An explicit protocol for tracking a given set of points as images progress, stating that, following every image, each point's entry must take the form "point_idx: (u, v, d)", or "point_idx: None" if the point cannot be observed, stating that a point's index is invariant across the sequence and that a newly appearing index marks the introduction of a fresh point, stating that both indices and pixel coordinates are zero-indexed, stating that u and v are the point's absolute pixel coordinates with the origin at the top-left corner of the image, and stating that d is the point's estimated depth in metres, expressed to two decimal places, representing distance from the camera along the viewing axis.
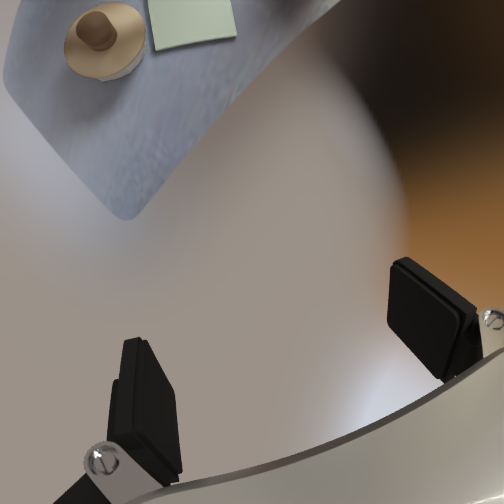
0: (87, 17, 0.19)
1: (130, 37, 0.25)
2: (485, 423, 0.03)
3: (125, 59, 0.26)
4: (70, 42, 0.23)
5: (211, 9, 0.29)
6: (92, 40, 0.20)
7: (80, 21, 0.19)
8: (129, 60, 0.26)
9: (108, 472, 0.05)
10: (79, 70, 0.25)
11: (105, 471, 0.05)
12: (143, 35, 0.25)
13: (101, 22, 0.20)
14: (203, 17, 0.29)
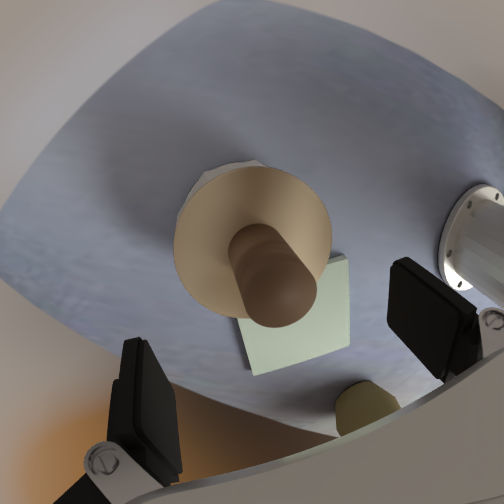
0: (305, 283, 0.13)
1: None
2: (485, 423, 0.03)
3: (206, 296, 0.18)
4: (261, 182, 0.16)
5: (293, 345, 0.28)
6: (243, 301, 0.13)
7: (300, 270, 0.13)
8: (203, 303, 0.18)
9: (108, 472, 0.05)
10: (192, 210, 0.16)
11: (105, 471, 0.05)
12: None
13: (284, 315, 0.13)
14: (281, 339, 0.27)
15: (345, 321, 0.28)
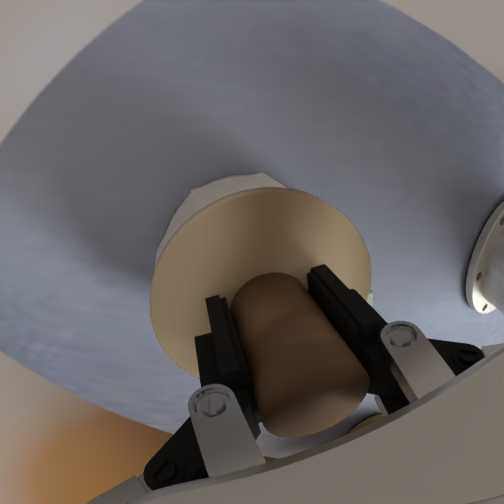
0: (354, 384, 0.08)
1: None
2: (485, 423, 0.03)
3: None
4: (279, 213, 0.11)
5: None
6: (260, 414, 0.08)
7: (350, 370, 0.07)
8: (197, 374, 0.13)
9: (210, 414, 0.07)
10: (175, 257, 0.10)
11: (208, 412, 0.07)
12: None
13: (318, 422, 0.08)
14: None
15: None
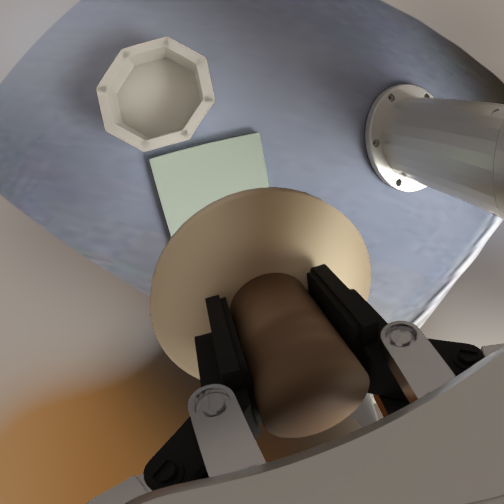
0: (354, 384, 0.08)
1: None
2: (485, 423, 0.03)
3: None
4: (279, 213, 0.11)
5: None
6: (260, 414, 0.08)
7: (350, 370, 0.07)
8: (197, 374, 0.13)
9: (210, 414, 0.07)
10: (175, 258, 0.10)
11: (208, 412, 0.07)
12: None
13: (318, 423, 0.08)
14: None
15: None
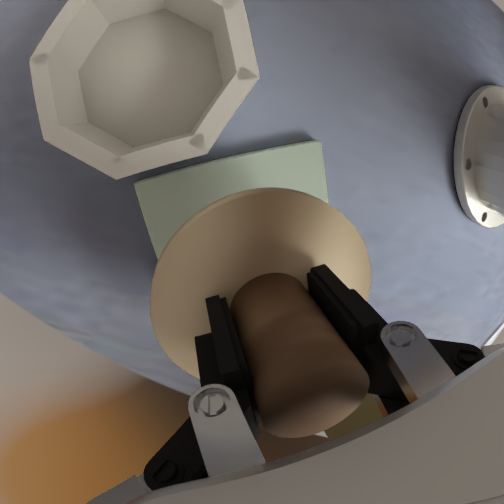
0: (354, 384, 0.08)
1: None
2: (485, 423, 0.03)
3: None
4: (279, 213, 0.11)
5: None
6: (260, 414, 0.08)
7: (350, 370, 0.07)
8: (197, 374, 0.13)
9: (210, 414, 0.07)
10: (175, 257, 0.10)
11: (208, 412, 0.07)
12: None
13: (318, 423, 0.08)
14: None
15: None
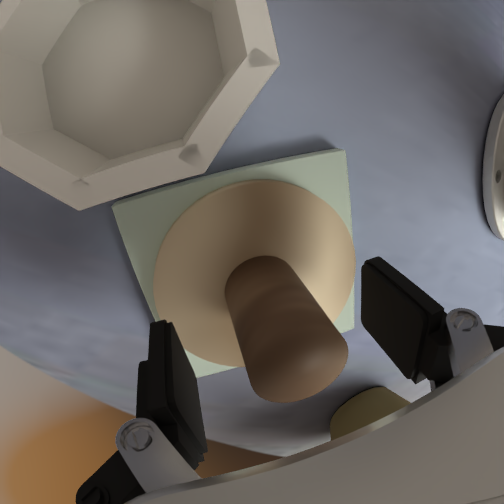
0: (334, 350, 0.09)
1: None
2: (485, 423, 0.03)
3: (197, 345, 0.14)
4: (269, 202, 0.12)
5: None
6: (249, 376, 0.09)
7: (328, 335, 0.09)
8: (195, 352, 0.14)
9: (139, 449, 0.06)
10: (176, 240, 0.12)
11: (136, 447, 0.06)
12: None
13: (302, 388, 0.09)
14: None
15: None
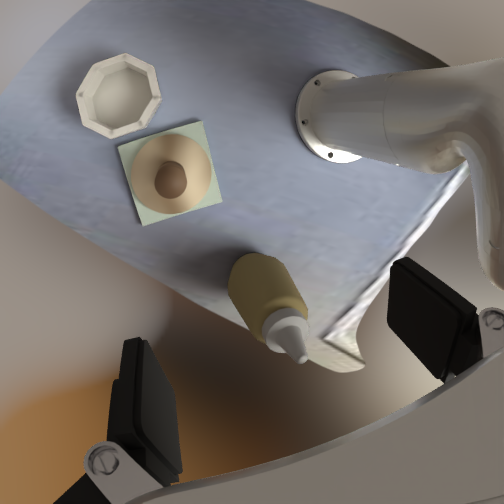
0: (181, 176, 0.29)
1: (169, 201, 0.35)
2: (485, 423, 0.03)
3: (146, 200, 0.34)
4: (171, 141, 0.32)
5: None
6: (154, 185, 0.29)
7: (177, 170, 0.29)
8: (145, 204, 0.34)
9: (108, 472, 0.05)
10: (139, 155, 0.32)
11: (105, 471, 0.05)
12: (170, 213, 0.35)
13: (172, 192, 0.29)
14: None
15: (212, 175, 0.35)
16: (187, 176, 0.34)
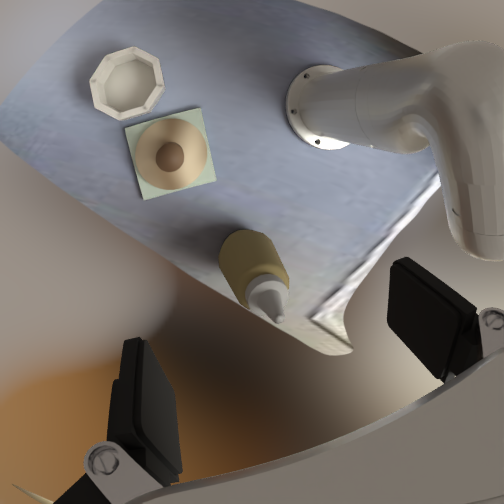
0: (179, 153, 0.32)
1: (167, 178, 0.38)
2: (485, 423, 0.03)
3: (147, 175, 0.37)
4: (173, 124, 0.35)
5: None
6: (155, 159, 0.32)
7: (176, 147, 0.32)
8: (146, 179, 0.37)
9: (108, 472, 0.05)
10: (144, 135, 0.35)
11: (105, 471, 0.05)
12: (168, 189, 0.38)
13: (171, 166, 0.33)
14: None
15: (208, 157, 0.39)
16: (185, 156, 0.37)
